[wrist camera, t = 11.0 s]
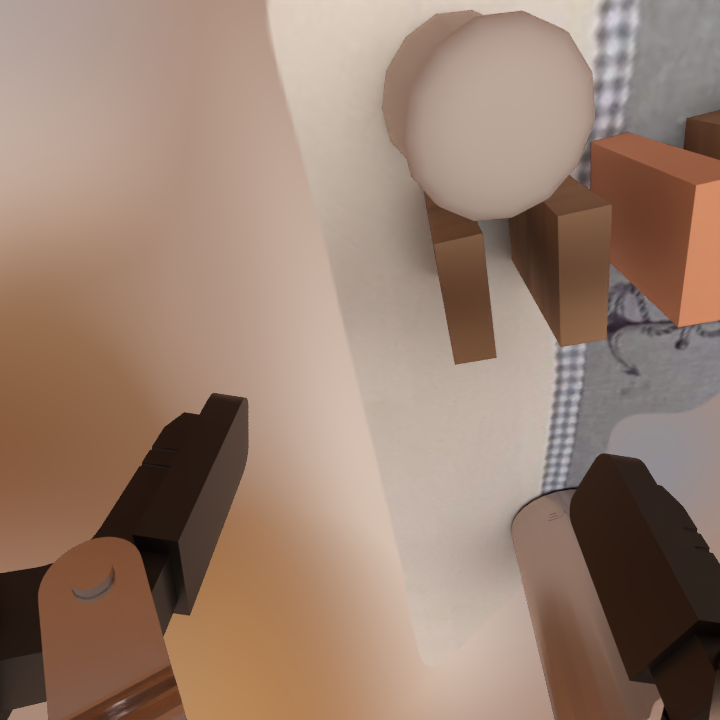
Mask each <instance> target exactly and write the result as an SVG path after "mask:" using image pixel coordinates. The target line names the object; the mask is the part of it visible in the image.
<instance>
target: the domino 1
mask: <svg viewBox="0 0 720 720" xmlns="http://www.w3.org/2000/svg"><path fill="white" fill-rule="evenodd" d="M424 195H425V201H426V207H427V212H428V218H429V224H430V230H431V235H432V241H433V247H434V252H435V258H436V264H437V270H438V275H439V281H440V286H441V292H442V297H443V302H444V308H445V313H446V319H447V324H448V330H449V335H450V340H451V346H452V351H453V357H454V362H455V365H456V364H462V363H468V362H474V361H480V360H485V359H491V358H496V349H495V340H494V331H493V322H492V313H491V304H490V295H489V286H488V278H487V269H486V260H485V251H484V242H483V233H482V231H481V229H480V227H479V225H478V223H477V221H473V220H470V219H468V218H465V217H463V216H460V215H458V214H456V213H453V212H451V211H448V210H446V209H443V208H441V207H439V206H438V205H436V204H435V203H434V201H433V200H432V199H431V198H430V197H429V196H428V195H427V194H426V192H425V191H424Z"/></svg>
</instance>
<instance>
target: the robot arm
mask: <svg viewBox="0 0 720 720" xmlns="http://www.w3.org/2000/svg"><path fill="white" fill-rule="evenodd" d="M247 455H248V400H247V398H243V397H237V396H230V395H224V394H217V393H213V394H211V396H210V397H209V399H208V400H207V402H206V404H205V406H204V408H203V409H202V411H201V413H200V415H197V414H192V413H185V412H184V413H183V414H181V416H179V417H177V418H176V419H175V420H173V421H172V422H171V423H169V424H168V425H167V426H165V427H164V429H163V430H162V432H161V433H160V435H159V436H158V438H157V440H156V441H155V443H154V444H153V446H152V450H150V451H149V452H148V454H147V455H146V457H145V459H144V460H143V462H142V466H139V468H138V470H137V471H136V473H135V474H134V476H133V477H132V479H131V480H130V482H129V484H128V485H127V487H126V488H125V490H124V491H123V493H122V495H121V496H120V498H119V500H118V501H117V502H116V504H115V506H114V507H113V509H112V510H111V512H110V514H109V515H108V517H107V518H106V520H105V521H104V523H103V525H102V526H101V528H100V529H99V530H98V532H97V533H96V534H95V535H94V537H93V538H92V539H91V540H89V541H85V542H83V543H81V544H79V545H77V546H75V547H73V548H71V549H70V550H68V551H67V552H66V553H64V554H63V555H61V557H59V558H58V559H57V560H56V561H55V562H54V563H52V564H48V565H46V566H41V567H36V568H31V569H25V570H18V571H12V572H6V573H0V720H7V719H8V717H9V716H10V714H11V712H12V710H13V709H17V708H21V707H25V706H29V705H34V704H38V703H42V702H46V701H47V710H48V720H187V718H186V715H185V711H184V708H183V704H182V700H181V697H180V694H179V690H178V686H177V683H176V680H175V677H174V674H173V670H172V667H171V663H170V659H169V656H168V652H167V649H166V645H165V641H164V638H163V636H164V634H165V632H166V629H167V627H168V624H169V622H170V619H171V617H172V614H173V613H176V614H183V615H190V614H191V611H192V608H193V606H194V603H195V600H196V598H197V595H198V592H199V590H200V587H201V584H202V582H203V579H204V576H205V574H206V571H207V568H208V566H209V563H210V560H211V558H212V555H213V552H214V550H215V547H216V544H217V542H218V539H219V536H220V534H221V531H222V528H223V526H224V523H225V520H226V518H227V515H228V512H229V510H230V507H231V504H232V502H233V499H234V496H235V494H236V491H237V488H238V486H239V483H240V480H241V478H242V475H243V472H244V469H245V465H246V461H247ZM511 533H512V539H513V543H514V547H515V552H516V556H517V560H518V564H519V569H520V573H521V577H522V582H523V587H524V591H525V595H526V599H527V604H528V608H529V612H530V616H531V620H532V625H533V629H534V634H535V638H536V642H537V646H538V651H539V655H540V659H541V663H542V668H543V672H544V676H545V681H546V685H547V689H548V693H549V697H550V702H551V706H552V710H553V714H554V719H555V720H720V564H719V562H718V561H717V559H716V558H715V556H714V554H713V553H710V552H709V547H708V545H707V543H706V542H705V540H704V539H703V537H702V535H701V534H698V533H697V528H696V526H695V524H694V523H693V521H692V520H691V518H690V517H689V515H688V513H687V512H686V510H685V509H684V507H683V506H682V505H681V504H680V503H679V502H678V501H677V500H676V499H675V498H674V497H673V496H672V495H671V494H670V493H669V492H668V491H666V489H665V488H663V487H662V486H660V485H657V484H656V482H655V480H654V479H653V477H652V475H651V474H650V473H649V470H648V469H647V467H646V466H645V464H644V463H643V462H642V461H641V460H639V459H637V458H630V457H624V456H618V455H611V454H600V455H599V456H598V457H597V458H596V459H595V461H594V462H593V464H592V465H591V467H590V469H589V470H588V472H587V473H586V475H585V477H584V478H583V480H582V481H581V483H580V485H579V486H578V488H577V489H573V490H565V491H559V492H555V493H552V494H549V495H545V496H543V497H541V498H539V499H537V500H535V501H533V502H531V503H530V504H528V505H527V506H525V507H524V508H523V509H522V510H521V511H520V512H519V513H518V514H517V516H516V517H515V519H514V521H513V523H512V528H511Z"/></svg>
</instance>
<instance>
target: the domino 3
mask: <svg viewBox="0 0 720 720" xmlns="http://www.w3.org/2000/svg"><path fill="white" fill-rule="evenodd" d="M590 190H591V191H593V192H594V193H596V194H597V195H599V196H600V197H602V198H603V199H605V200H606V201H608V202H609V203H611V204H612V215H611V239H610V263H611V264H612V265H613V266H614V267H615V268H616V269H617V270H618V271H620V272H621V273H622V274H623V275H624V276H625V277H626V278H627V279H628V280H629V281H630V282H631V283H632V284H633V285H634V286H635V287H636V288H637V289H638V290H640V291H641V292H642V293H643V294H644V295H645V296H646V297H647V298H648V299H649V300H650V301H651V302H652V303H653V304H654V305H655V306H656V307H657V308H658V309H660V310H661V311H662V312H663V313H664V314H665V315H666V316H667V317H668V318H669V319H670V320H671V321H672V322H673V323H674V324H675V325H676V326H677V327H681V326H687V325H693V324H699V323H705V322H711V321H717V320H720V160H717V159H714V158H711V157H707V156H704V155H701V154H697V153H694V152H691V151H688V150H684V149H681V148H678V147H674V146H671V145H668V144H664V143H661V142H658V141H655V140H651V139H648V138H645V137H641V136H638V135H635V134H631V133H624V134H620V135H616V136H612V137H608V138H604V139H600V140H596V141H593V142H591V184H590Z"/></svg>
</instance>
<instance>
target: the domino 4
mask: <svg viewBox="0 0 720 720" xmlns="http://www.w3.org/2000/svg"><path fill="white" fill-rule="evenodd" d="M684 150H688V151H691V152H694V153H697V154H701V155H704V156H707V157H711V158H714V159H717V160H720V110H719V111H715V112H711V113H707V114H703V115H699V116H695V117H691V118H687V123H686V132H685V141H684Z"/></svg>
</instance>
